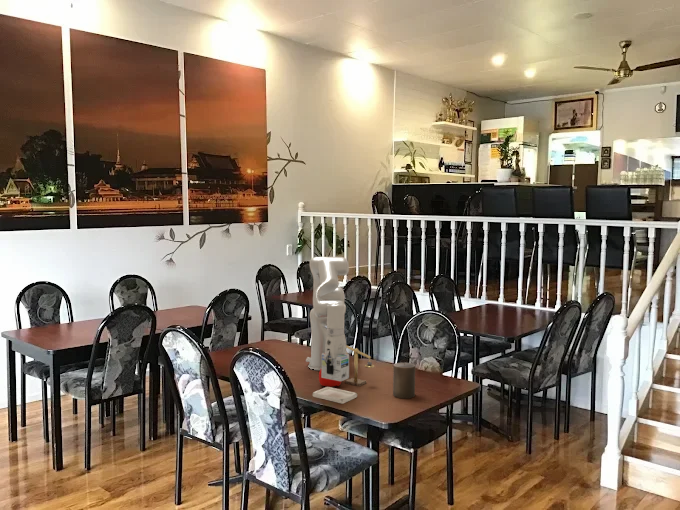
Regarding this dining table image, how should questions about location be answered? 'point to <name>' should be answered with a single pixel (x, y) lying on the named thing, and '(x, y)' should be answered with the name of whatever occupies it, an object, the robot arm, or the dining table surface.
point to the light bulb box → (336, 368)
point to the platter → (335, 395)
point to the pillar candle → (404, 380)
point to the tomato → (328, 381)
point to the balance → (369, 365)
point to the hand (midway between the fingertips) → (335, 371)
